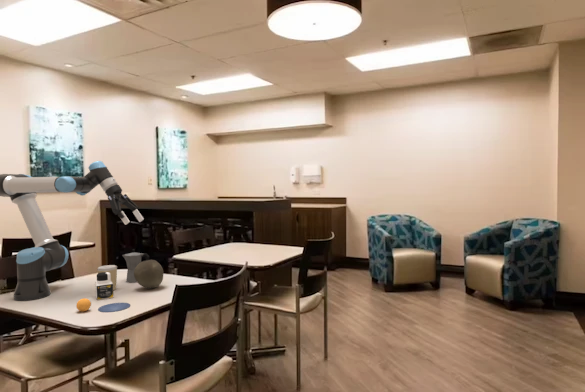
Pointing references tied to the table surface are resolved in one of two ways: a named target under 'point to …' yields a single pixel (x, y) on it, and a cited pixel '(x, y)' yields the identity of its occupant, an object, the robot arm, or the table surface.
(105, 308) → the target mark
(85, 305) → the ball
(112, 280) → the coffee cup
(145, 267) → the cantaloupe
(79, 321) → the table surface
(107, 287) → the medicine bottle
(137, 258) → the coffeepot
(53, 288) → the table surface
